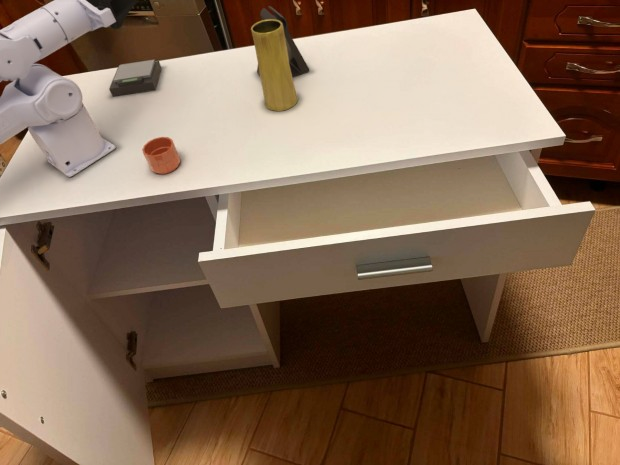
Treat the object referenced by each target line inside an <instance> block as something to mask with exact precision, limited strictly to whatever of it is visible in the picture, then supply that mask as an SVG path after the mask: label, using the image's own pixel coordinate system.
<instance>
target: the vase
mask: <svg viewBox="0 0 620 465" xmlns="http://www.w3.org/2000/svg"><path fill="white" fill-rule="evenodd" d="M250 31H251V36H252V40H253V46H254V50H255V54H256V55H255V56H256V60H257V67H258V66H259V71H260V75H259V77H260V83H261V89H262V93H263V98H264V106H265V107H266V109H268V110H270V111H274V112H283V111H287V110H289V109H291V108H293V107H294V106H296V104H297V103H298V100H299V98H298V95H297V91H296V87H295V83H294V77H293V78H292V74H291V69H290V66H289V58H288V52H287V47H286V41H285V34H284V28H283V24H282V22H281V21H279V20H276V19H266V20H260V21H257V22H255V23H253V25H252V26H251V28H250Z"/></svg>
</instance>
